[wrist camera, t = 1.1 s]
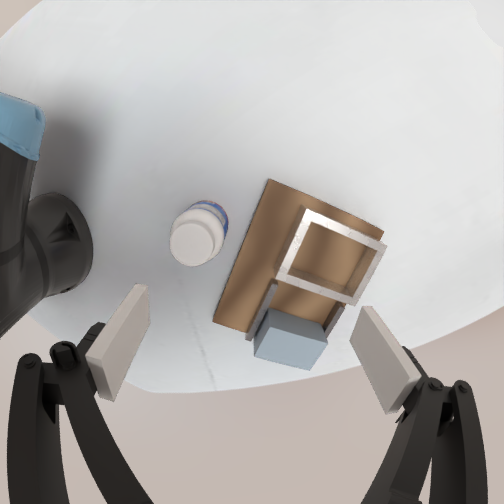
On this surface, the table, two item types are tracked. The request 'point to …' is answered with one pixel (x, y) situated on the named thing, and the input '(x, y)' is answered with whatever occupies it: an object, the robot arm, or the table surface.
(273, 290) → the rails
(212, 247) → the pill bottle
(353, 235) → the socket
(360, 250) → the board
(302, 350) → the block
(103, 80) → the table surface
